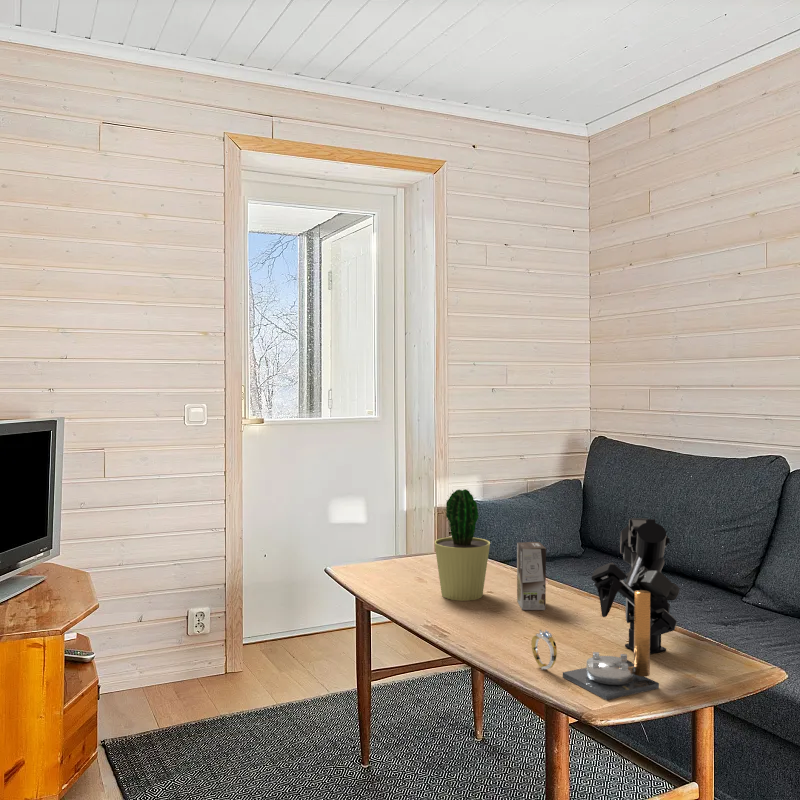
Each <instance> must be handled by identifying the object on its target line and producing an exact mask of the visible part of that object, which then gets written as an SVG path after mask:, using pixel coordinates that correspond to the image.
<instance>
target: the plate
mask: <svg viewBox="0 0 800 800" xmlns="http://www.w3.org/2000/svg"><path fill="white" fill-rule="evenodd" d="M562 678H563V679H566V680H567V681H569V682H571V683H573V684H575V685H576V686H578V687H580V688H583V689H584V690H586V691H589V692H590V693H592V694H594V695H595V696H597V697H600V698H602V699H603V700H606V701H608V700H612V699H613V700H615V699H618V698H621V697H627V696H630V695H631V696H632V695H635V694H640V693H645V692H649V691H653V690H658V689H659V688H660V683H659V682H658V681H655V680H654V679H651V678H648V676H637V675H635V674H634V680H633V681H632V682H630V683H627V684H621V685H611V684H603V683H599V682H596V681H593V680H591V679H590V678H588V677H587V667H583V668H582V667H581V668H579V669H577V668H576V669H573V670H568V671H563V672H562Z"/></svg>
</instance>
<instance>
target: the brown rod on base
mask: <svg viewBox="0 0 800 800" xmlns="http://www.w3.org/2000/svg"><path fill="white" fill-rule="evenodd" d="M586 668H587V677H588V678H590V679H591V680H593V681H596V682H599V683H603V684H611V685H621V684H627V683H630V682H632V681H633V680H634V674H635V675H637V676H644V677H649V676H650V675H651V654H650V592H649V591H645V590H636V591H634V650H633V661H631V660H629V659H628V654H627V653H626V654H625V653H620V657H619V656H613V655H600V652H599V651H593V652H592V657H590V658H588V659H587V660H586Z"/></svg>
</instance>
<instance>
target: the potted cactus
mask: <svg viewBox="0 0 800 800" xmlns="http://www.w3.org/2000/svg"><path fill="white" fill-rule="evenodd" d="M451 490H452V493H451V494H450V496H449V495H447V496H448V499H447V498H446V499H445V500H446V501H445V502H446V503H445V509H443V510H444V511H445V515H444V516H443V518H445V520H446V519H447V521H448V525H449V528H447V530H449V531H450V536H449V537H448V536H447V537H442V538H438V539H436V540H434V549H435V550H434V551H435V555H436V556H435V558H436V564H437V571H438V578H439V585H440V591H441V596H442V597H443V598H445V599H448V600H452V601H462V602H464V601H466V602H467V601H475V600H479V599H481V598H482V597H483V594H484V586H485V580H486V575H487V567H488V562H489V561H488V560H489V553H490V548H491V547H490V544H491V542H490V541H489V540H487V539H484V538H479V537H476V535H475V534H476V529H477V528H476V523H477V525H479V524H480V523H479V521H478V520H479V519H480V515H479V511H480V510H479V509H480V508H482V507H478V503H477V502H478V500H475V499H476V497H474V495H473V494H472V493H471V491H470V489H469V488H467V489H465V488H462V489H461V488H460V489H457V490H455V491H454V490H453V489H451Z"/></svg>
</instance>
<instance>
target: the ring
mask: <svg viewBox="0 0 800 800" xmlns="http://www.w3.org/2000/svg"><path fill="white" fill-rule="evenodd" d="M540 639H542V640H543V641H545V643H546V644H547V646H548V648H549V652H550V653H549V654H550V657H549V659H550V660H549V662H548V664H546V663H544V662H543V661H542V659H541V658H540V655H539V652H538V643H539V640H540ZM530 644H531V645H530V646H531V650H532V655H533V658H534V659H535V661H536V663H537V665H538V666H539V667H540V669H541V670H544V671H545V670H550V669H551V668H553V667H554V665H555V663H556V659H557V655H558V650H557V645H556V641H555V639H554V638H553V634H552V632H550V631H549V630H548V629H545V630H542V629H539V633H536V634H535V635H533V636H532V638H531V643H530Z"/></svg>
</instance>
